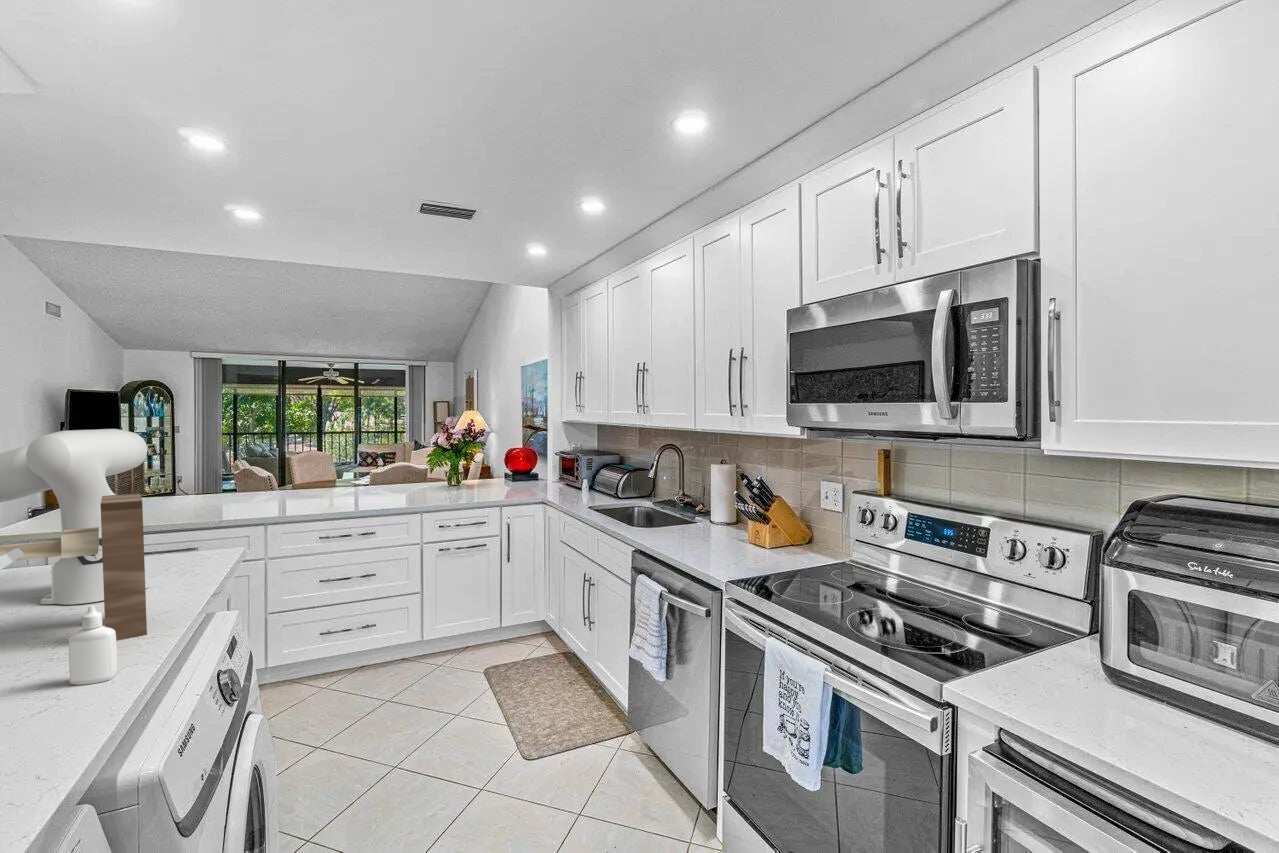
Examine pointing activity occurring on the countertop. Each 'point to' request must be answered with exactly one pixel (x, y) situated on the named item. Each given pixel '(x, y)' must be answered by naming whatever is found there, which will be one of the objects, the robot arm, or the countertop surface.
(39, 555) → the wooden mallet
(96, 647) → the eye dropper bottle
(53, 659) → the countertop surface
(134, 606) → the walnut shelf
